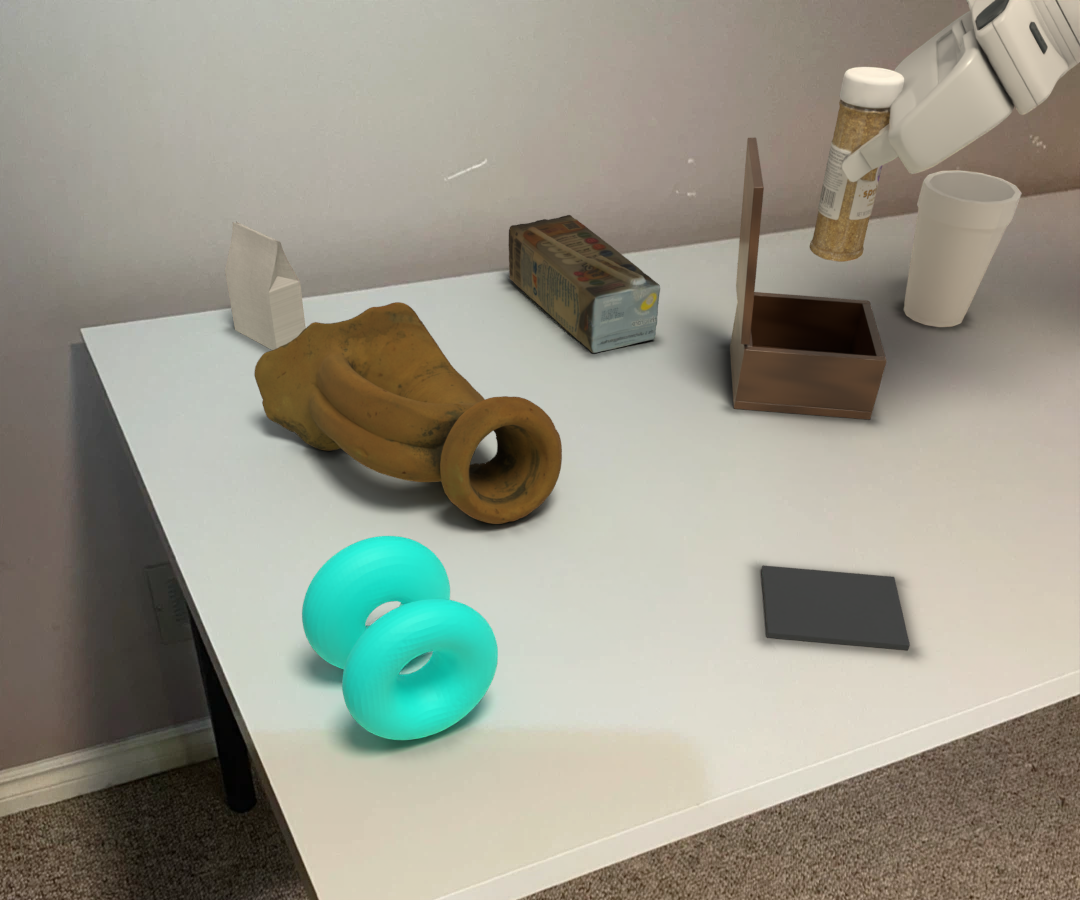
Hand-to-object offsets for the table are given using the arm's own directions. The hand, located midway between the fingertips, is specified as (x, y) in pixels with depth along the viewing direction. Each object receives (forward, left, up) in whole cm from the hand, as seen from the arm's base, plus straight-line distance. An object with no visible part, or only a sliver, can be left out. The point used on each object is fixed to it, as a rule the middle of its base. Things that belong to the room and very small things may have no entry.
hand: (847, 161), depth 86 cm
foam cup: (-17, -22, -21) cm, 35 cm away
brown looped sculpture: (+34, +17, -21) cm, 43 cm away
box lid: (+6, -4, -8) cm, 11 cm away
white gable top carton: (+51, -5, -21) cm, 56 cm away
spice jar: (-1, 0, -7) cm, 7 cm away
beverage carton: (+21, -16, -21) cm, 34 cm away
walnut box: (-1, -4, -21) cm, 22 cm away
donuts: (+29, +44, -21) cm, 57 cm away
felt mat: (-1, +31, -21) cm, 37 cm away
